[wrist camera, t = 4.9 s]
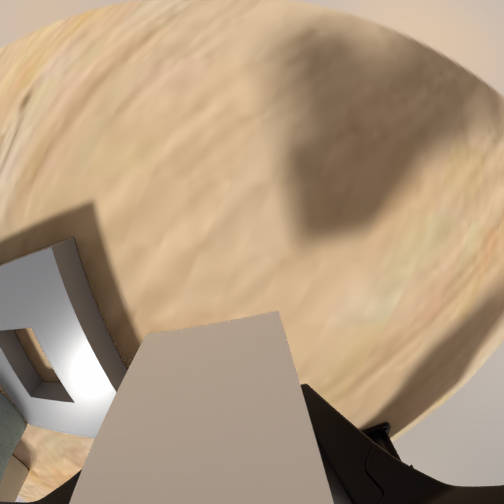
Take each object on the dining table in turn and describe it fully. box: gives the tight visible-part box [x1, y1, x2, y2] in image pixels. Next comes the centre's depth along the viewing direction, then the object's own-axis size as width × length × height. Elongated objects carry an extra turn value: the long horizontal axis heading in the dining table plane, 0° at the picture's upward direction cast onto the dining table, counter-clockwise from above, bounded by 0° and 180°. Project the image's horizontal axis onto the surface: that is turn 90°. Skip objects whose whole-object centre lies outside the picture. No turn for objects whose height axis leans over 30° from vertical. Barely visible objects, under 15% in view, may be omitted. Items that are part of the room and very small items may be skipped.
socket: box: [0, 237, 127, 438], centre depth 15 cm, size 16×16×2 cm
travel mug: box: [0, 454, 29, 502], centre depth 16 cm, size 8×8×18 cm
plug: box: [69, 311, 334, 504], centre depth 6 cm, size 4×5×7 cm
